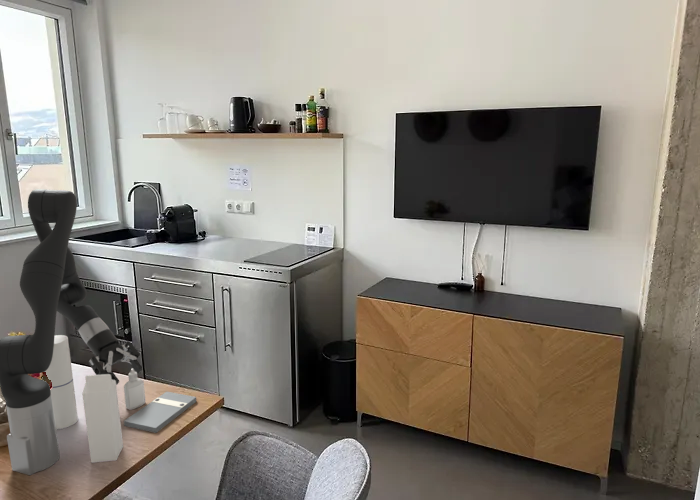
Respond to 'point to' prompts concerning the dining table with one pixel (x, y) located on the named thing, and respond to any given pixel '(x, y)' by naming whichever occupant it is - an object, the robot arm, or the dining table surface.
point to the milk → (102, 418)
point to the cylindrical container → (62, 384)
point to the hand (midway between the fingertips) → (129, 377)
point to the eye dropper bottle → (134, 391)
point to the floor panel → (160, 412)
